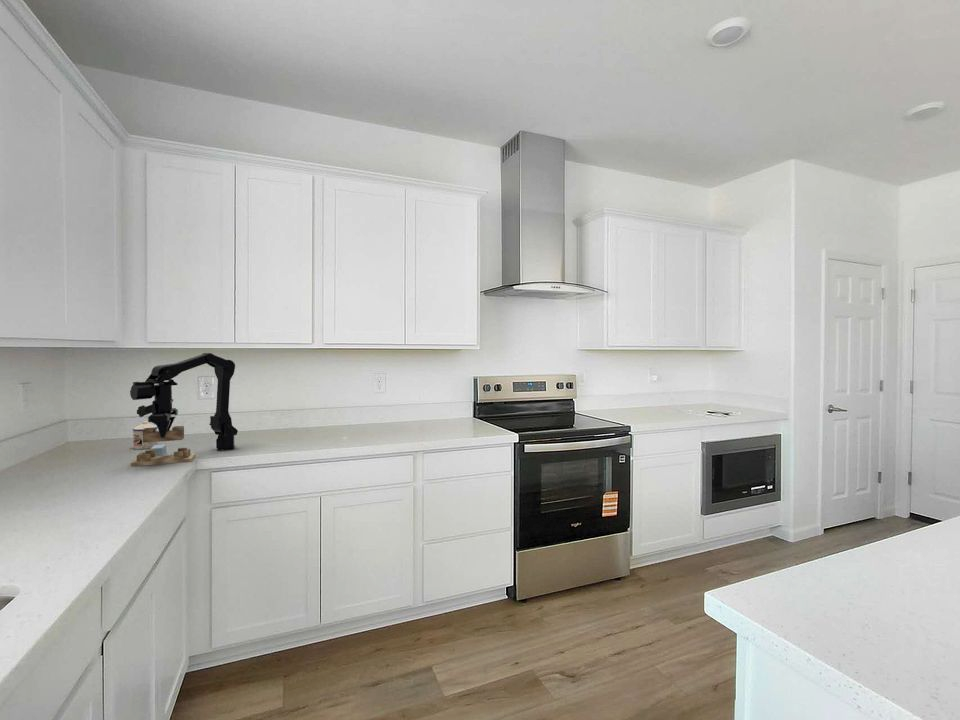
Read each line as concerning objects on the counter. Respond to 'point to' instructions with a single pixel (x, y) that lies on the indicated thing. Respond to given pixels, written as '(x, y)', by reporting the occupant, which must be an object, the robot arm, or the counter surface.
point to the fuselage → (171, 435)
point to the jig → (163, 457)
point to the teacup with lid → (139, 436)
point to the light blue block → (159, 450)
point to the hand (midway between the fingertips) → (164, 436)
